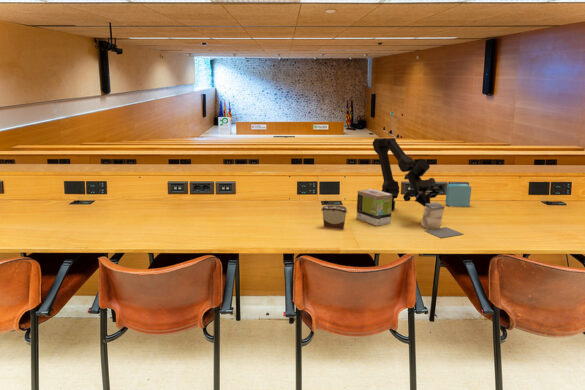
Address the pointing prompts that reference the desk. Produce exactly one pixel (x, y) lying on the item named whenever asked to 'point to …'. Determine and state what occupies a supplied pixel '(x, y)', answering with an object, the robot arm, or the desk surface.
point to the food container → (334, 216)
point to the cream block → (432, 215)
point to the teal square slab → (458, 195)
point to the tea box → (374, 206)
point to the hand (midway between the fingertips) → (429, 209)
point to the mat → (443, 232)
